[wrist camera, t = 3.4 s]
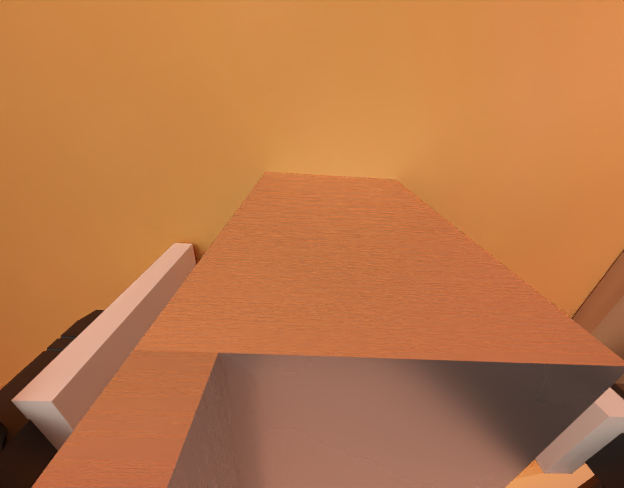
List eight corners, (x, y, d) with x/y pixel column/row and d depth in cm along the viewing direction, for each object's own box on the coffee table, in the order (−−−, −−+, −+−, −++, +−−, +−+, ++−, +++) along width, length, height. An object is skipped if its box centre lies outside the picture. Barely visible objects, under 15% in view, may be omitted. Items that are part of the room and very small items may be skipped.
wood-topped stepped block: (270, 336, 14) (212, 665, 6) (265, 171, 9) (-10, 544, 1) (359, 339, 14) (429, 663, 6) (394, 179, 10) (863, 549, 1)
